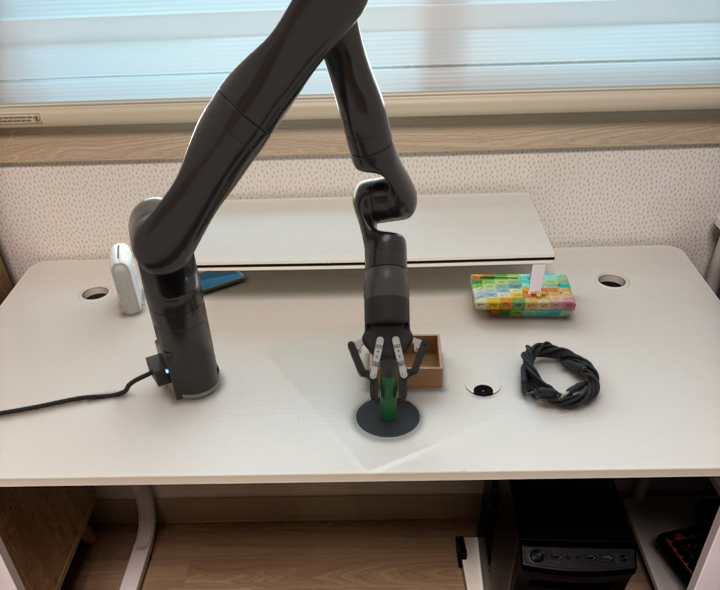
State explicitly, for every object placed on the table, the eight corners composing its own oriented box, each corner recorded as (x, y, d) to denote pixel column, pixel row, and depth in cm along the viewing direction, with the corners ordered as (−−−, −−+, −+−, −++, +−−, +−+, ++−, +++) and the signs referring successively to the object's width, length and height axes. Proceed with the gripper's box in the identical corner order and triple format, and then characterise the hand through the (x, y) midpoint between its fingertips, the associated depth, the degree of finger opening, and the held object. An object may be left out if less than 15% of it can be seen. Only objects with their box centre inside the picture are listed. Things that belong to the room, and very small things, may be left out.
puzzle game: (576, 299, 137) (475, 299, 138) (572, 320, 140) (472, 319, 141) (567, 270, 145) (471, 270, 146) (562, 291, 148) (469, 290, 149)
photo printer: (123, 292, 152) (107, 238, 143) (143, 289, 153) (128, 236, 144) (122, 316, 145) (105, 261, 136) (143, 313, 146) (128, 258, 137)
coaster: (377, 447, 114) (377, 445, 114) (344, 411, 121) (344, 409, 120) (432, 425, 118) (432, 422, 117) (397, 391, 125) (397, 389, 124)
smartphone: (170, 285, 153) (169, 282, 153) (231, 266, 159) (231, 262, 159) (183, 300, 149) (182, 296, 148) (246, 279, 155) (246, 276, 154)
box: (369, 389, 125) (369, 368, 122) (370, 354, 133) (370, 334, 130) (441, 389, 125) (443, 368, 122) (438, 354, 133) (439, 334, 130)
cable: (518, 350, 133) (521, 331, 130) (593, 356, 131) (598, 336, 128) (518, 405, 121) (521, 385, 118) (600, 412, 119) (606, 392, 116)
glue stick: (385, 423, 118) (385, 370, 110) (376, 414, 119) (376, 361, 112) (400, 417, 119) (401, 364, 111) (391, 408, 120) (391, 355, 113)
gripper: (343, 293, 111) (345, 400, 111) (431, 291, 111) (433, 398, 111) (344, 305, 118) (346, 406, 118) (427, 303, 118) (429, 404, 118)
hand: (388, 402), depth 114 cm, fingers open, 3 cm apart
